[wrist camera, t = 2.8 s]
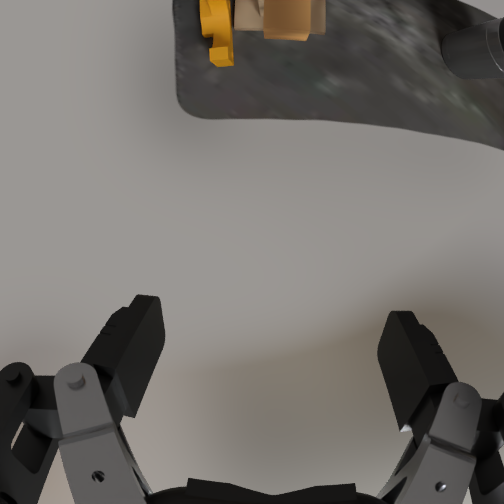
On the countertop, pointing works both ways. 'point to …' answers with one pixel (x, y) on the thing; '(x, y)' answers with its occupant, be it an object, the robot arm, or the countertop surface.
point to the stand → (252, 15)
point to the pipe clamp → (218, 30)
